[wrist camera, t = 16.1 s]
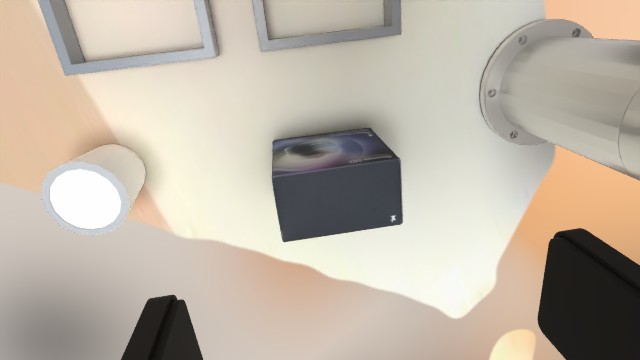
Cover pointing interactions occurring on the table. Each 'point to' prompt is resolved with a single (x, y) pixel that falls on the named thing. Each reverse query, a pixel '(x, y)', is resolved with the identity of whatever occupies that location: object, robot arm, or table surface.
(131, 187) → the white cup
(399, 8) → the right bin
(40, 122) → the table surface
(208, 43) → the left bin
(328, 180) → the small box
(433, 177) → the table surface
